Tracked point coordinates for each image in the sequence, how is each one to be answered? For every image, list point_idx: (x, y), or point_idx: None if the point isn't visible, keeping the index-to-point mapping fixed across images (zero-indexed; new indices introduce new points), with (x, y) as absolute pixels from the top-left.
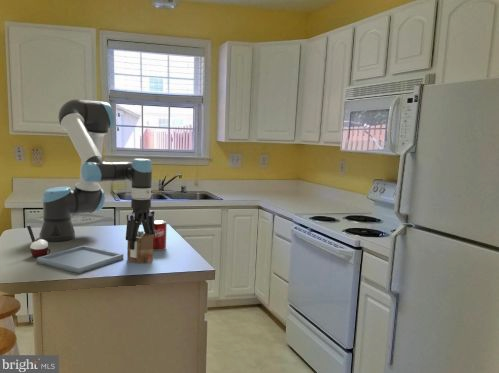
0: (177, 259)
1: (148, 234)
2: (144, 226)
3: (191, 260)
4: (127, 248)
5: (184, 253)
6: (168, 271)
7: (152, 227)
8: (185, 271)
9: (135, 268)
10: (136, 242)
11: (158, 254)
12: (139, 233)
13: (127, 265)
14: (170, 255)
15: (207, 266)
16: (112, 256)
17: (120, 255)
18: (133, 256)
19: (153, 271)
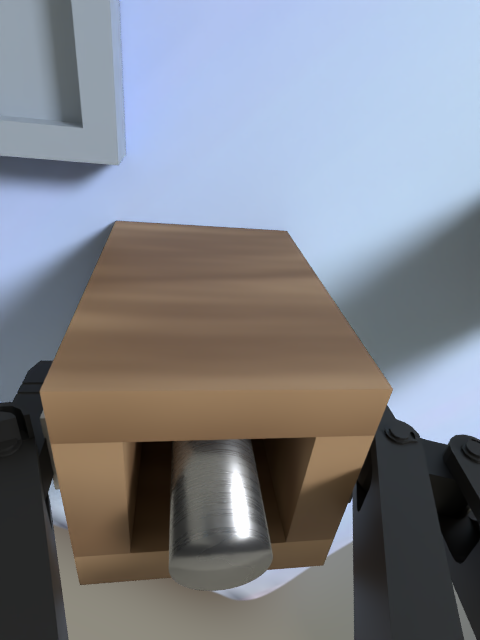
0: None
1: (328, 523)
2: (375, 635)
3: (347, 509)
4: (93, 273)
5: (473, 428)
6: None
7: (467, 614)
8: None
9: (10, 396)
10: None
11: (401, 322)
12: (169, 556)
13: (12, 312)
14: (403, 394)
15: (287, 580)
16: (49, 6)
17: (65, 160)
18: None
19: (55, 491)
